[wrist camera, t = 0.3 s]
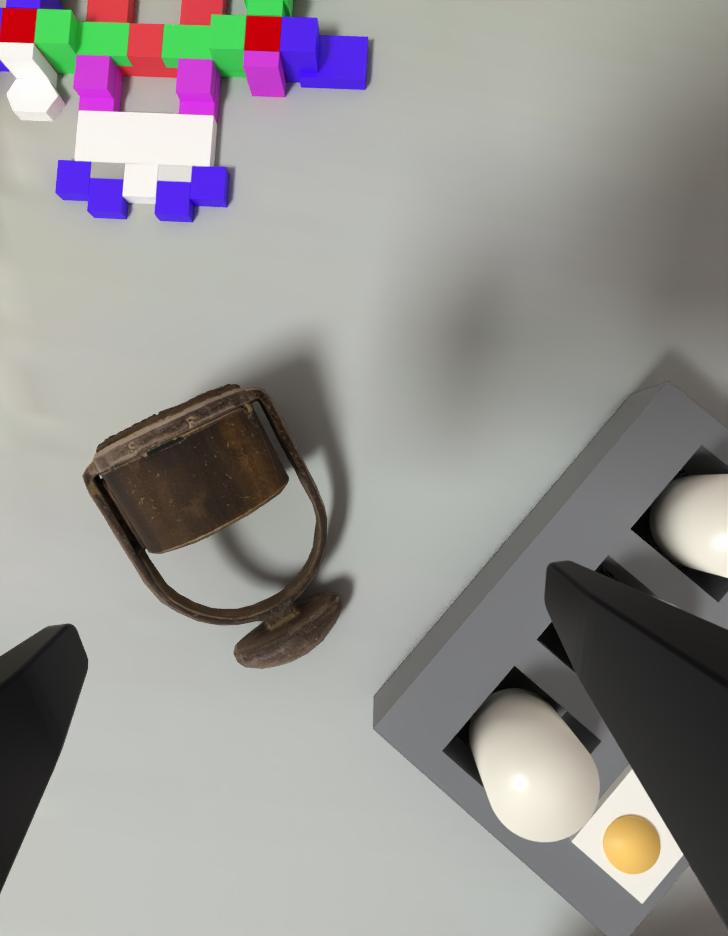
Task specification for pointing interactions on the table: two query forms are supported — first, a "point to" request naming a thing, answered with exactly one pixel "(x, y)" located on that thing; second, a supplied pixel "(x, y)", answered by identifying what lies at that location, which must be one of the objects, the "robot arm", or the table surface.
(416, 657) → the button panel
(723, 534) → the button
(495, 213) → the table surface
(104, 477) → the brown mug
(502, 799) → the button
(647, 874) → the pattern card
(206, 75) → the building block set
